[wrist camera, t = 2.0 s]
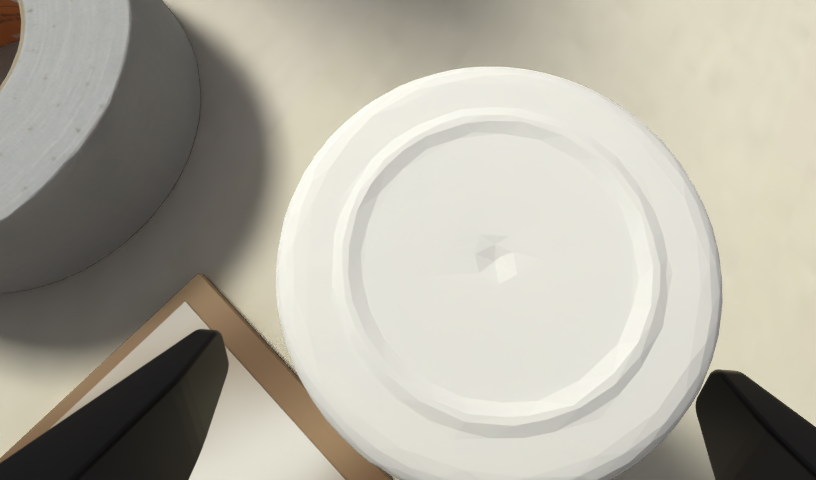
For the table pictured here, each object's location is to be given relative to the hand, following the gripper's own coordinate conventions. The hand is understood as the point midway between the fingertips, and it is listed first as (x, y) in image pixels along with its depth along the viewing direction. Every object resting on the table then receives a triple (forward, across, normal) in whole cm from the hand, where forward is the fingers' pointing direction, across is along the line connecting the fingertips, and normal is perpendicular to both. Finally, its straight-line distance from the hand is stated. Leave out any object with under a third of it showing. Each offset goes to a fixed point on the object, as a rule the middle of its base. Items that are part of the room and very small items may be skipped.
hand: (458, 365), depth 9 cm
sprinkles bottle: (+7, 0, +6) cm, 9 cm away
